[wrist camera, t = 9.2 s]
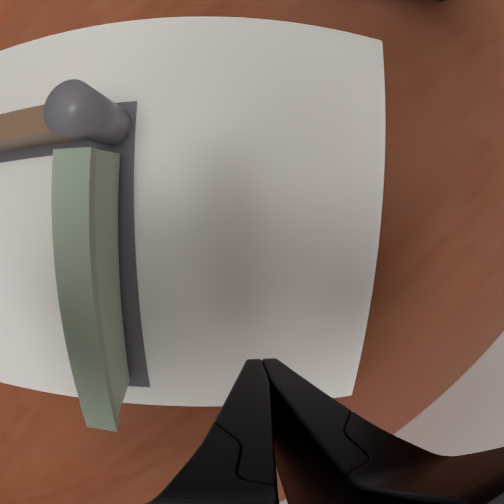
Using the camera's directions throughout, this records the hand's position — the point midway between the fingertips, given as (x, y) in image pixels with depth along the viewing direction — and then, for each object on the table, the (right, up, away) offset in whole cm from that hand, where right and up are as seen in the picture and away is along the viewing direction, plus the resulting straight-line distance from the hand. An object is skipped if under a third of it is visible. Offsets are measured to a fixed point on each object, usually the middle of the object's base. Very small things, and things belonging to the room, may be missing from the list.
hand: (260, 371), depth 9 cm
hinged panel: (-7, +2, +7) cm, 10 cm away
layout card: (-6, +5, +7) cm, 10 cm away
